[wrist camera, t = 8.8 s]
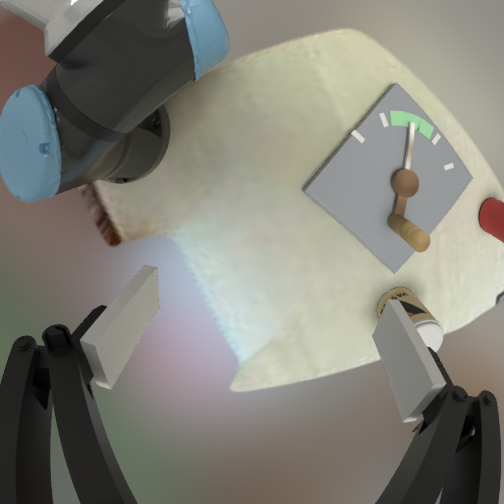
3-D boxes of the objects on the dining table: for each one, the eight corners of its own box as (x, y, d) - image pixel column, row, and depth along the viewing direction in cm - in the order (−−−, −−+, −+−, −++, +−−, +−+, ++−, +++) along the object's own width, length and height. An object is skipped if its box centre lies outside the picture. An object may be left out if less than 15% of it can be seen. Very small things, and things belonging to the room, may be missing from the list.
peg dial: (399, 118, 30) (429, 115, 22) (422, 126, 30) (454, 125, 22) (382, 227, 36) (406, 250, 28) (404, 231, 36) (430, 254, 28)
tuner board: (301, 188, 38) (302, 190, 36) (390, 83, 30) (395, 80, 28) (389, 268, 41) (394, 274, 39) (466, 175, 33) (473, 178, 31)
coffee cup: (403, 272, 41) (433, 312, 30) (424, 302, 43) (451, 342, 32) (363, 306, 45) (382, 352, 34) (387, 332, 46) (407, 376, 35)
